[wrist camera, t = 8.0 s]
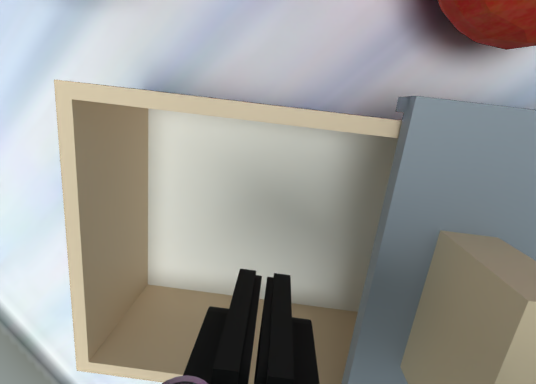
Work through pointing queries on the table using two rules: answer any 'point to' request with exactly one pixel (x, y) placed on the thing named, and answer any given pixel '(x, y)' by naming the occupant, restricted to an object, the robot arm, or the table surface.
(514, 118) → the lid
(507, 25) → the apple
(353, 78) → the table surface
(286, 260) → the box
